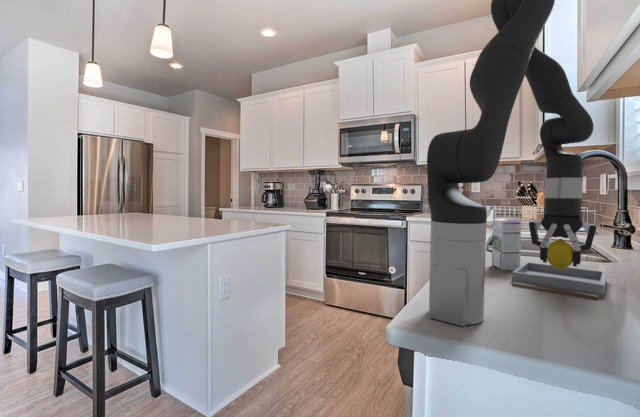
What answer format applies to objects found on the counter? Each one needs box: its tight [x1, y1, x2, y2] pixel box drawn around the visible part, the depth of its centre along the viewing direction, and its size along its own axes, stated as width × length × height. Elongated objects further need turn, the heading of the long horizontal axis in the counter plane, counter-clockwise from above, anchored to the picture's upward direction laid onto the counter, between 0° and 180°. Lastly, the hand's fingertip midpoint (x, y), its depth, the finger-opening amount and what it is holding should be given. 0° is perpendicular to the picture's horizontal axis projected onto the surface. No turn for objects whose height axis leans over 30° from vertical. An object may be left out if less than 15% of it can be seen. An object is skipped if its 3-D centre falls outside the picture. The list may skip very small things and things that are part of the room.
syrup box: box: [491, 217, 522, 271], centre depth 100 cm, size 6×6×14 cm
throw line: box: [511, 282, 600, 301], centre depth 77 cm, size 2×16×1 cm, turn 49°
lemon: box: [547, 238, 574, 271], centre depth 84 cm, size 6×6×8 cm
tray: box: [511, 261, 608, 297], centre depth 85 cm, size 16×18×2 cm
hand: (559, 263), depth 85 cm, fingers closed on lemon, 5 cm apart
